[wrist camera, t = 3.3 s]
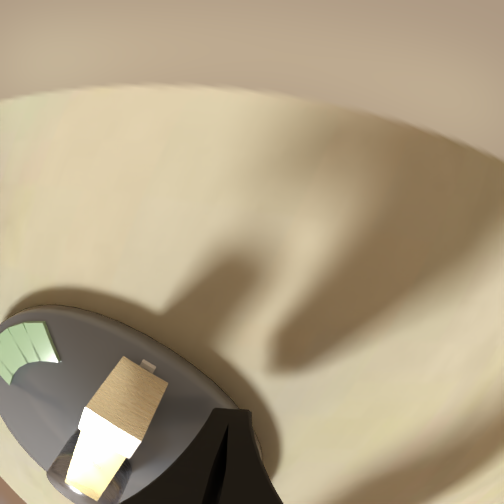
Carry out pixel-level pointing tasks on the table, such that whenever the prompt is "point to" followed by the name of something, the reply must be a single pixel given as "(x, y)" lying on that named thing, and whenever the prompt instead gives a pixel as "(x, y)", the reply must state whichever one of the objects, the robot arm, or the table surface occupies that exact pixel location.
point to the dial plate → (95, 385)
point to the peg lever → (108, 436)
